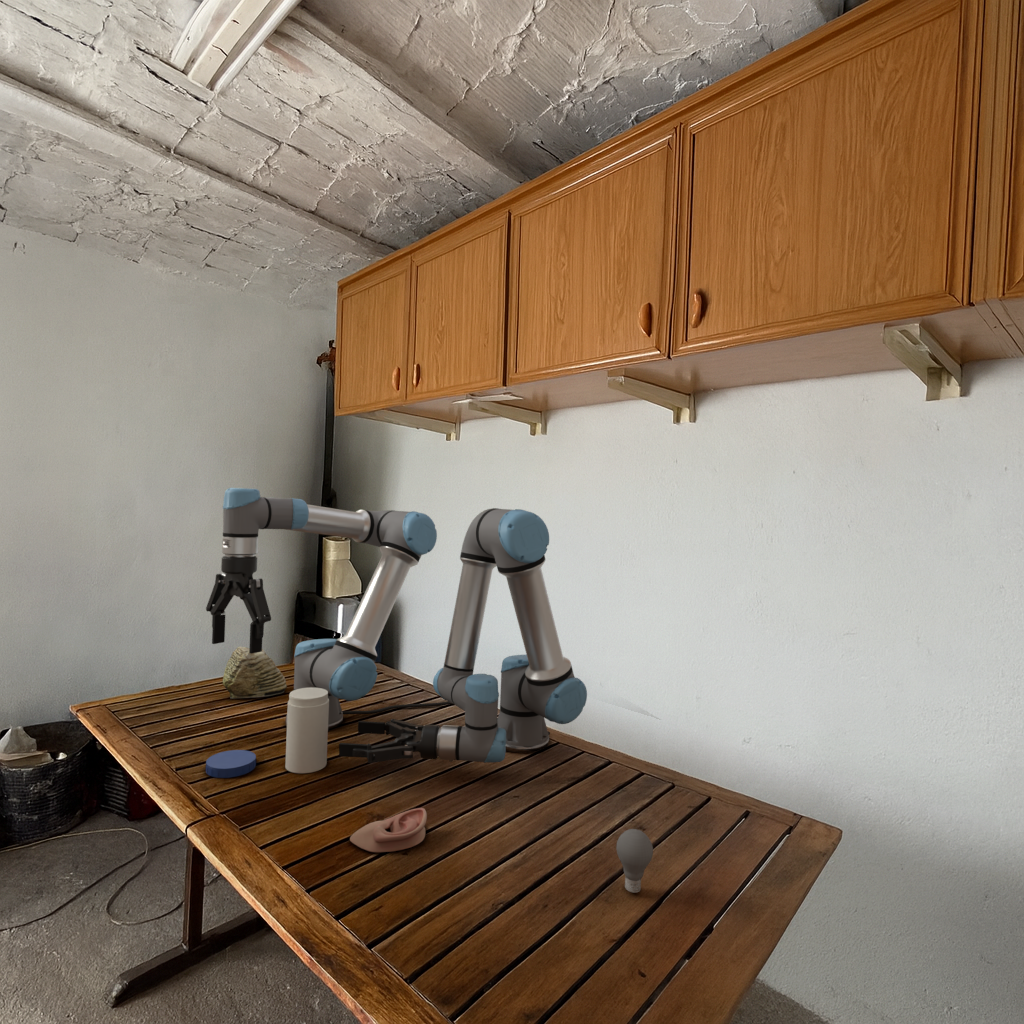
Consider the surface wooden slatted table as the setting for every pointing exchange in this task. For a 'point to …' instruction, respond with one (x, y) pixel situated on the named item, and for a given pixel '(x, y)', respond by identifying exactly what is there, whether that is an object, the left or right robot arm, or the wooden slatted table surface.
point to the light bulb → (634, 857)
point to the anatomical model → (392, 832)
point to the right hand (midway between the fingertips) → (349, 737)
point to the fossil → (252, 675)
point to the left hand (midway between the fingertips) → (236, 647)
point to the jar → (307, 730)
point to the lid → (230, 763)
